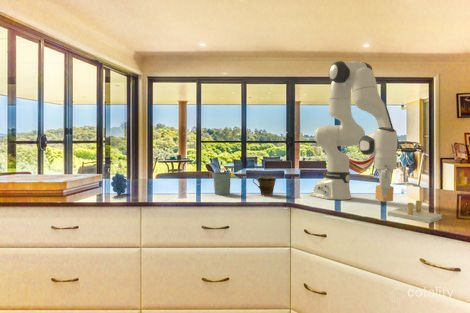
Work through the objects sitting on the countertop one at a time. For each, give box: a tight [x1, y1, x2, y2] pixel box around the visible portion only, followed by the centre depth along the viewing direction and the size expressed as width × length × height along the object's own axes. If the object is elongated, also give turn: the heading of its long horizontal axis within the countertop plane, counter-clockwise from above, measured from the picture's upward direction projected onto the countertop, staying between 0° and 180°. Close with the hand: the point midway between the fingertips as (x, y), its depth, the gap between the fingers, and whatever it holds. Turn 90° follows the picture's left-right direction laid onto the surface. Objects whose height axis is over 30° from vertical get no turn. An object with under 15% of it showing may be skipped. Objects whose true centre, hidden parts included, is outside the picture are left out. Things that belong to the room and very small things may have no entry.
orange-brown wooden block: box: [375, 184, 395, 203], centre depth 140 cm, size 5×5×6 cm
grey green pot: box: [212, 171, 232, 196], centre depth 180 cm, size 10×10×12 cm
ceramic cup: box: [252, 175, 277, 197], centre depth 178 cm, size 13×10×10 cm
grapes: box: [110, 172, 128, 196], centre depth 174 cm, size 12×7×12 cm, turn 157°
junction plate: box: [387, 200, 443, 224], centre depth 129 cm, size 16×12×6 cm
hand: (384, 195), depth 140 cm, fingers closed on orange-brown wooden block, 7 cm apart
